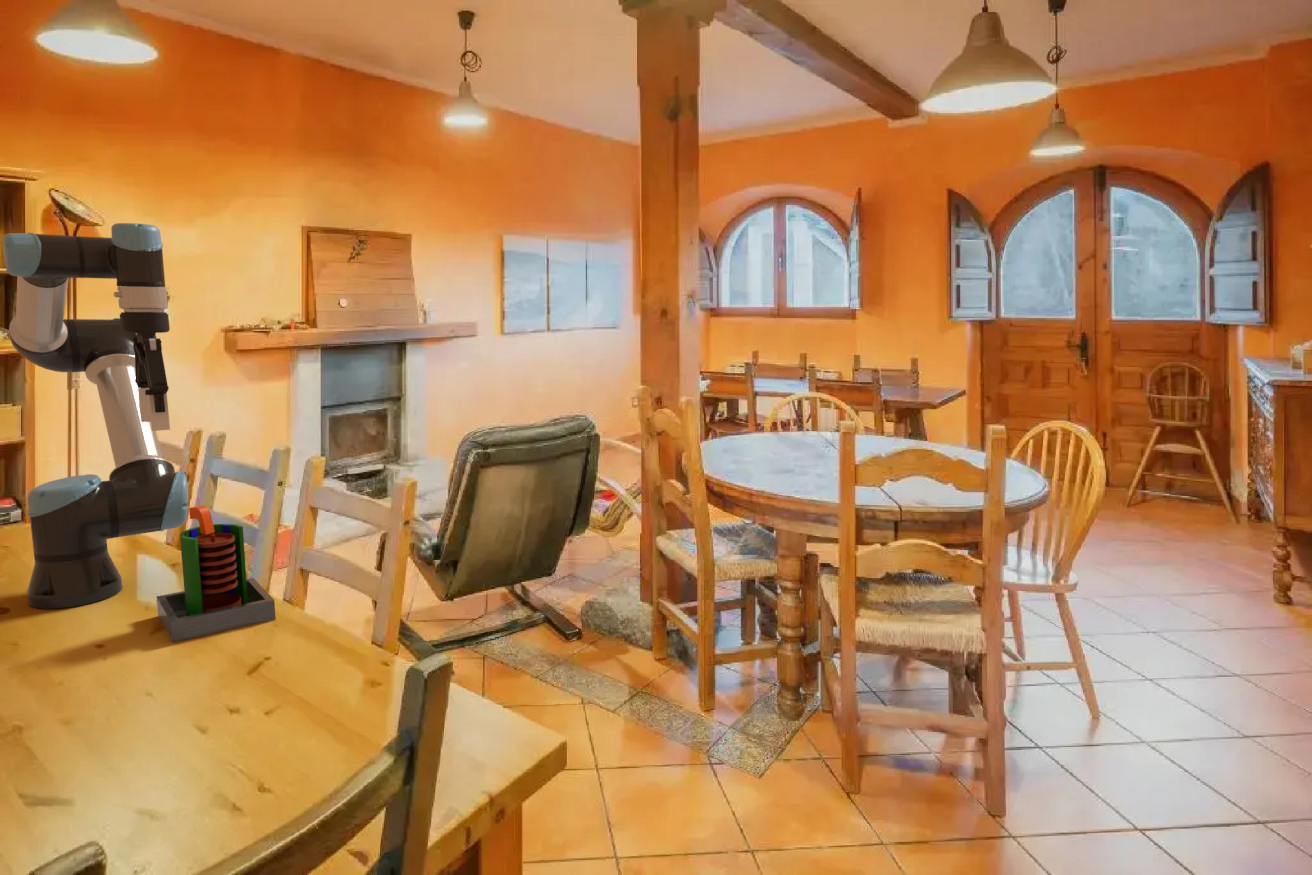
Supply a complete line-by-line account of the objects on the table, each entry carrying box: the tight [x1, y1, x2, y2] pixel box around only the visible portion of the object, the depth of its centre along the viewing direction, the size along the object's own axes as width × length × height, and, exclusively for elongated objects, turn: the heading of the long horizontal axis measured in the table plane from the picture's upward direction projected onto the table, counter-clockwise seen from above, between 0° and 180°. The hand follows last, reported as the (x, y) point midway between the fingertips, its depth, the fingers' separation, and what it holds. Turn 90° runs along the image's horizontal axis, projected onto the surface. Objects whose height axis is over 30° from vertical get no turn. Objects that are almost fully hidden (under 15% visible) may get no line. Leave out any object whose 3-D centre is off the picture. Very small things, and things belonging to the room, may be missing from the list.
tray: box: [156, 577, 277, 644], centre depth 146 cm, size 15×16×4 cm
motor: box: [179, 505, 248, 616], centre depth 145 cm, size 10×9×20 cm
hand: (155, 425), depth 148 cm, fingers open, 13 cm apart
